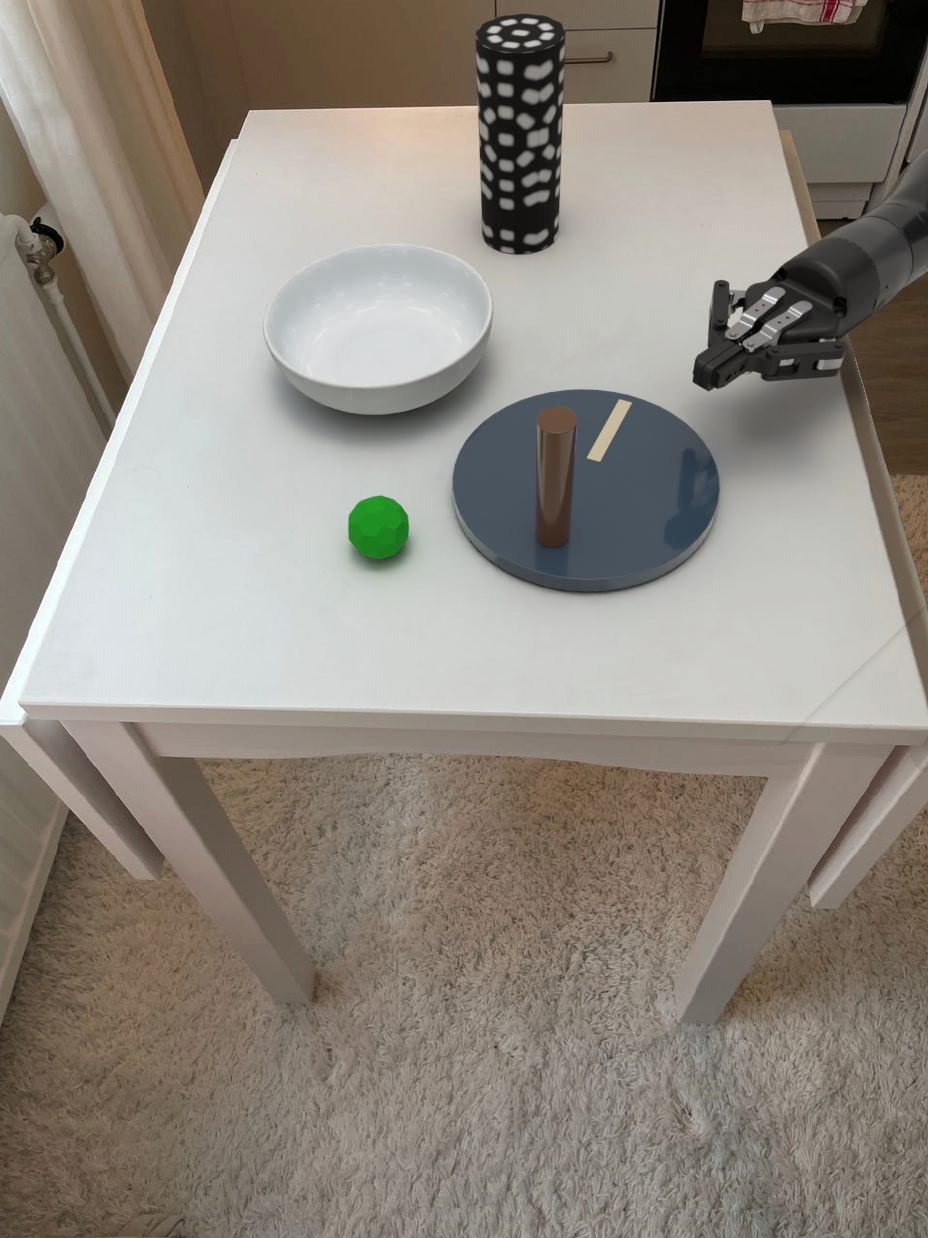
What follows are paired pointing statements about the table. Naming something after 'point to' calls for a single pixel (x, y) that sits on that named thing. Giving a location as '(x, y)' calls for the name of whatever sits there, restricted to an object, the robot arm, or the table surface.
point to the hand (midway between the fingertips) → (701, 377)
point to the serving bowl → (379, 327)
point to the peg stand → (585, 490)
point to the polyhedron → (378, 527)
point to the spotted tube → (520, 130)
